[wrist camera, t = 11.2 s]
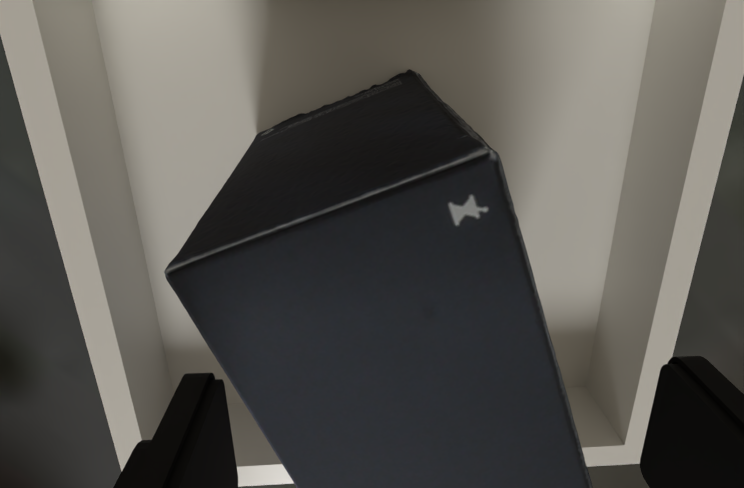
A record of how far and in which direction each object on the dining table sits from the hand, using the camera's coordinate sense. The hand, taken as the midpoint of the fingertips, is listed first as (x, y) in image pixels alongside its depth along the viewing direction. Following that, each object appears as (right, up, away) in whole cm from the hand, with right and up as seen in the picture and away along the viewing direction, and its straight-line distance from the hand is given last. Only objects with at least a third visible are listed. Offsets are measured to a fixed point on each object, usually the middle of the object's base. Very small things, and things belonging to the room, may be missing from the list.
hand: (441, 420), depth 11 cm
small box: (-1, +4, +9) cm, 10 cm away
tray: (-1, +5, +10) cm, 11 cm away
